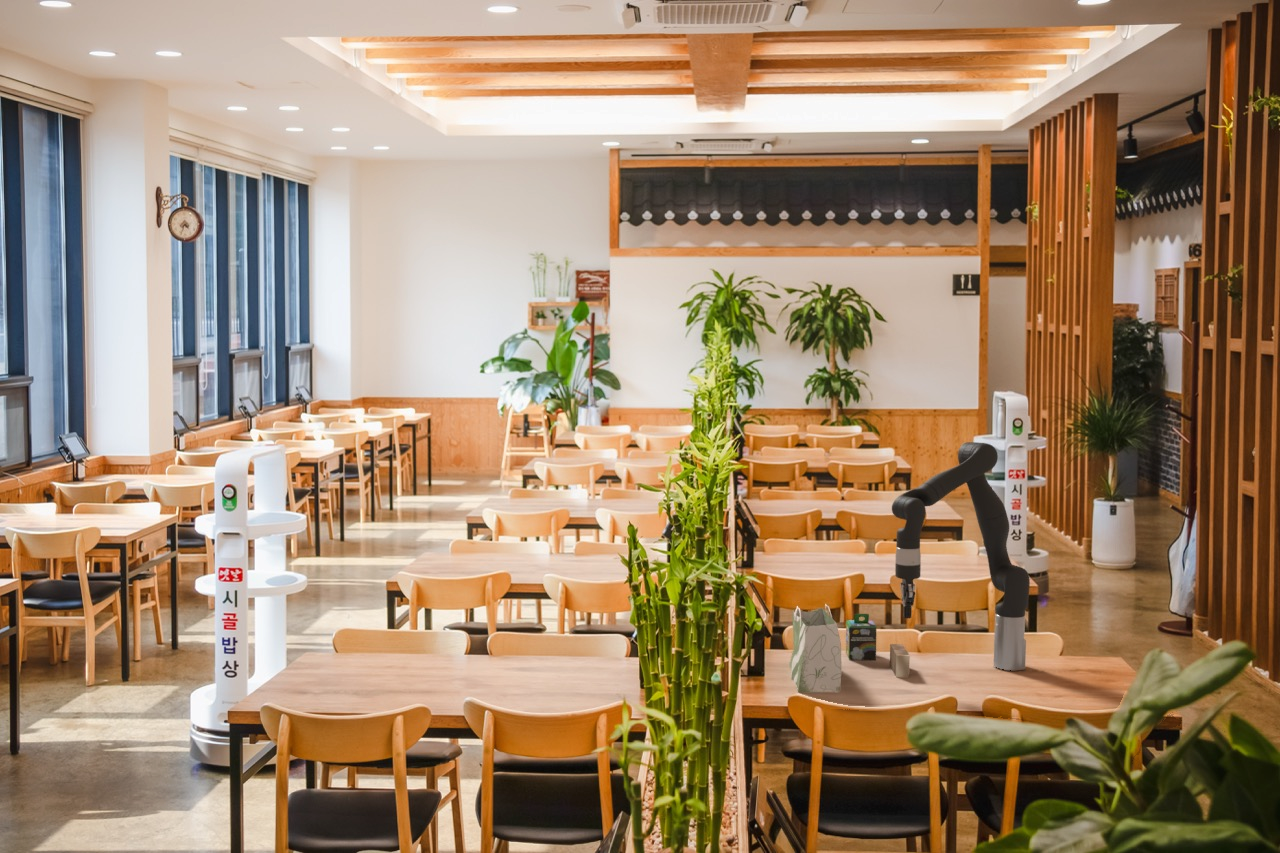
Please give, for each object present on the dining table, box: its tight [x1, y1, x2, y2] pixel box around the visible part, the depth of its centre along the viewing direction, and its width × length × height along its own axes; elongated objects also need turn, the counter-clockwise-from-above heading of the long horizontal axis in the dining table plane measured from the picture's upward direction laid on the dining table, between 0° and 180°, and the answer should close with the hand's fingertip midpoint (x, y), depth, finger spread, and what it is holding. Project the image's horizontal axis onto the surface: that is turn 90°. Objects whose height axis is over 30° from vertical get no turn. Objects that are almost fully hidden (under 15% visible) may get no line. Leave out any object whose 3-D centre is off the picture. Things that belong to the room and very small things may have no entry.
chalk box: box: [845, 613, 878, 661], centre depth 430 cm, size 9×9×15 cm
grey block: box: [889, 643, 911, 679], centre depth 413 cm, size 4×7×14 cm
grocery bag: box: [789, 603, 842, 693], centre depth 404 cm, size 32×14×23 cm, turn 179°
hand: (907, 617), depth 398 cm, fingers closed
